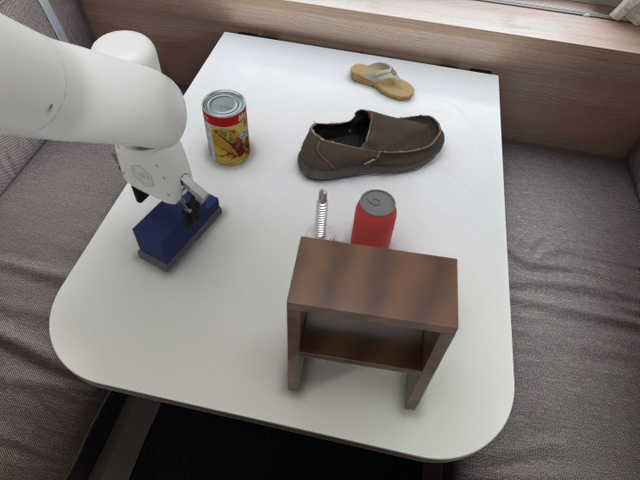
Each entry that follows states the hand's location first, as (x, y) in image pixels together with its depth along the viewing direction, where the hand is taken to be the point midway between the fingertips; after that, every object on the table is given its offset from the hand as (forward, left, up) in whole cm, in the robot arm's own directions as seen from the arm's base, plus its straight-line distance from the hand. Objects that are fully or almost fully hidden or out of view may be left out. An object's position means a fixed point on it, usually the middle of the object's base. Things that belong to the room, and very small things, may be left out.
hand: (168, 209), depth 83 cm
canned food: (+22, +5, -8) cm, 24 cm away
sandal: (+58, -11, -8) cm, 60 cm away
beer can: (+15, -29, -8) cm, 34 cm away
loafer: (+35, -20, -8) cm, 41 cm away
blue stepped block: (+1, 0, -8) cm, 8 cm away
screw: (+12, -21, -8) cm, 26 cm away
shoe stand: (-6, -37, -8) cm, 38 cm away
